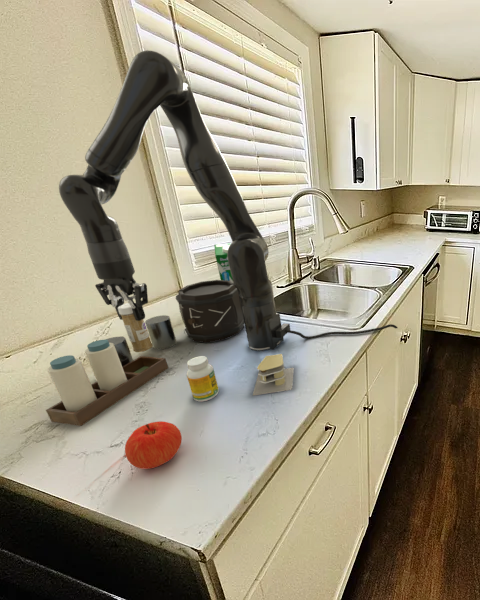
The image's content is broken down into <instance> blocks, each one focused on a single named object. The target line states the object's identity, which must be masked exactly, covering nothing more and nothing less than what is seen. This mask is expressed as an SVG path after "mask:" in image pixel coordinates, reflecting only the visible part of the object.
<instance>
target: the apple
mask: <svg viewBox="0 0 480 600" xmlns="http://www.w3.org/2000/svg"><path fill="white" fill-rule="evenodd" d="M182 439H183V436H182V432H181V430H180V429H179V428H178V427H177V426H176V425H175V424H174V423H171V422H168V421H161V420H160V421H153V422H148V423H146V424H143V425H141V426H139V427H137V428H136V429H135V430H134V431H132V433H131V434H130V436H129V437H128V439H127V440H126V442H125V446H124V454H125V457H126V460H127V461H128V463H130V465H132V466H133V467H135V468H136V469H140V470H141V469H142V470H147V469H148V470H149V469H154V468H157V467H160V466H162V465H164V464H166V463H167V462H169V461H170V460H172V459H173V458H174V457H175V456H176V454H177V453H178V451H179V449H180V448H181V445H182V441H183V440H182Z"/></svg>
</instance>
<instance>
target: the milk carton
mask: <svg viewBox="0 0 480 600" xmlns="http://www.w3.org/2000/svg"><path fill="white" fill-rule="evenodd" d="M231 243H232V242H229V243H217V244H214V245H213V246H214V247H213V248H214V256H215V260H216V261H215V262H216V266H217V270H218V274H219V278H220V279H219V280H228V281H231V282H232V283H233V279H232V275H231V271H230V267H229V263H228V256H227V252H228V248H229V246H230V244H231Z"/></svg>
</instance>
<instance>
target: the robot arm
mask: <svg viewBox="0 0 480 600" xmlns="http://www.w3.org/2000/svg"><path fill="white" fill-rule="evenodd" d="M159 107H160V108H161V110H162V111H163V113H164V114H165V116H166V118H167V119H168V121H169V123H170V125H171V126H172V128H173V131H174V134H175V136H176V139H177V143H178V147H179V151H180V156H181V160H182V163H183V165H184V168H185V170H186V172H187V174H188V176H189V178H190V180H191V181H192V184H193V186H194V187H195V189H196V191H197V193H198V194H199V195H200V197H201V199H203V201H204V202H205V203H206V204H207V206H208V207H209V208H210V209H211V210H212V211H213V212H214V213H215V214H216V216H217V217H218V218H219V219H220V221H221V222H222V224H223V225H224V227H225V229H226V231H227V232H228V235H229V236H230V239H231V242H230V243H231V244H230V246H229V248H228V252H227V256H228V263H229V267H230V271H231V275H232V279H233V283H234V285H235V287H236V288H237V290H238V295H239V300H240V305H241V310H242V315H243V320H244V324H243V325H244V329H245V334H246V338H247V343H248V344H247V345H248V349H249V350H250V351H252V352H266V351H274V350H276V349H277V348H278V347H279V346H280V345H281V344H282V343H283V342H284V341H285V339H284V337H285V336H286V335H287V334H292V335H296V336H299V337H301V338H302V339H303V340H304V339H305V340H312V339H317V338H321V337H325V336H330V335H359V334H367V333H371V332H376V331H382V330H385V329H387V328H394V329H398V326H397V325H395V324H391V323H390V324H386V325H383V326H380V327H375V328H371V329H364V330H357V331H329V332H328V331H327V332H323V333H320V334H316V335H311V336H310V335H309V336H308V335H304V334H303V333H302V332H299V331H295V330H291V324H290V323H285V322H284V323H282V320H281V314H280V313H279V312H277V308H276V302H275V295H274V289H273V288H274V287H273V283H272V281H271V279H269V275H268V269H267V266H266V261H267V259H268V257H269V251H270V250H269V245H268V243H267V241H266V240H265V238H264V236H263V235H262V233H261V232H260V230H259V229H258V226H257V225H256V224H255V222H254V220H253V219H252V217H251V215H250V213H249V210H248V208H247V206H246V204H245V201H244V199H243V196H242V194H241V192H240V190H239V188H238V185H237V184H236V181H235V179H234V177H233V175H232V172H231V170H230V168H229V166H228V164H227V162H226V160H225V157H224V156H223V154H222V153H221V151H220V148H219V146H218V144H217V143H216V141H215V139H214V138H213V136H212V134H211V132H210V131H209V129H208V127H207V125H206V123H205V121H204V118H203V116H202V113H201V111H200V108H199V106H198V103H197V101H196V97H195V95H194V93H193V90H192V86H191V84H190V81H189V80H188V78H187V76H186V74H185V73H184V71H182V69H181V68H179V66H178V65H176V64H175V63H174V62H173V61H172V60H170V59H169V58H168V57H166V56H165V55H163V54H162V53H160V52H158V51H154V50H148V49H147V50H146V49H145V50H142V51H139V52H138V53H136V54H135V56H134V57H133V58H132V60H131V61H130V64H129V67H128V69H127V72H126V74H125V77H124V80H123V83H122V86H121V87H120V91H119V93H118V96H117V98H116V101H115V103H114V105H113V106H112V109H111V111H110V113H109V115H108V118H107V119H106V121H105V123H104V124H103V126H102V127H101V129H100V131H99V132H98V134H97V135H96V137H95V139H94V140H93V141H92V143H91V145H90V146H89V148H88V149H87V150H86V153H85V155H84V160H85V163H86V164H87V166H86V169H85V170H84V172H83V173H82V174H68V175H65V176H63V177H62V178H61V179H60V181H59V184H58V192H59V196H60V199H61V201H62V202H63V204H64V205H65V207H66V208H67V210H68V211H69V213H70V215H71V216H72V217H73V219H74V220H75V221H76V223H77V224H78V225H79V227H80V230H81V233H82V236H83V238H84V241H85V243H86V249H87V252H88V255H89V258H90V261H91V263H92V266H93V269H94V271H95V274H96V276H97V278H98V280H102V282H99V283H96V284H95V285H94V286H95V289H96V290H97V291H98V293H99V295H100V297H101V298H102V299H103V301H104V303H105V305H107V306H110V305H111V306H112V308H115V312H116V314H117V316H118V319H119V320H122V321H123V319H122V317H121V314H119V311H118V307H119V306H121V305H123V304H125V302H127V303H129V304H130V306H131V307H132V311H133V314H134V317H135V319H136V321H140V320H142V319H143V320H145V319H146V313H145V310H144V307H143V306H144V305H147V304H148V303H149V298H148V296H149V295H148V286H147V284H146V283H145V282H143V283H138V282H137V281H136V280H135V278H134V277H133V276H134V274H135V271H136V270H135V267H134V265H133V262H132V258H131V256H130V253H129V250H128V247H127V245H126V243H125V240H124V239H123V235H122V233H121V229H120V227H119V224H118V221H117V220H116V219H115V218H114V217H113V216H111V215H108V214H106V211H105V209H104V207H103V206H102V205H105V204H107V203H108V202H110V200H111V199H112V198H113V197H114V196H115V194H116V192H117V190H118V187H119V184H120V182H121V178H122V175H123V174H124V172H125V171H126V170H127V168H128V167H129V165H130V164H131V162H132V161H133V160H134V158H135V156H136V154H137V153H138V151H139V148H140V145H141V142H142V138H143V134H144V131H145V127H146V126H147V123H148V121H149V119H150V118H151V116H152V115H153V113H154V112H155V111H156V110H157V109H158V108H159ZM134 300H135V301H134Z"/></svg>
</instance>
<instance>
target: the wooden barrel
mask: <svg viewBox="0 0 480 600" xmlns="http://www.w3.org/2000/svg"><path fill="white" fill-rule="evenodd" d="M175 300H176V301H177V303H178V308H179V309H178V310H179V312H180V313H179V314H180V317H181V320H182V322H183V325H184V327H185V328H184V331H185V333H186V335H187V337H188V338H189V339H192V342H196V343H203V344H204V343H205V344H207V343H208V344H209V343H215V342H220V341H225V340H227V339H229V338H232V337H235V336H236V335H238V334H239V333H240V332H241V331H242V330H243V328H244V325H245V324H244V320H243V315H242V310H241V305H240V300H239V295H238V290H237V288H236V287H235V285H234V283H232V282H231V281H228V280H221V279H213V280H204V281H199V282H195V283H192V284H188V285H185V286H184V287H182V288H180V289H179V290H178V294H176V296H175Z"/></svg>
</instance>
